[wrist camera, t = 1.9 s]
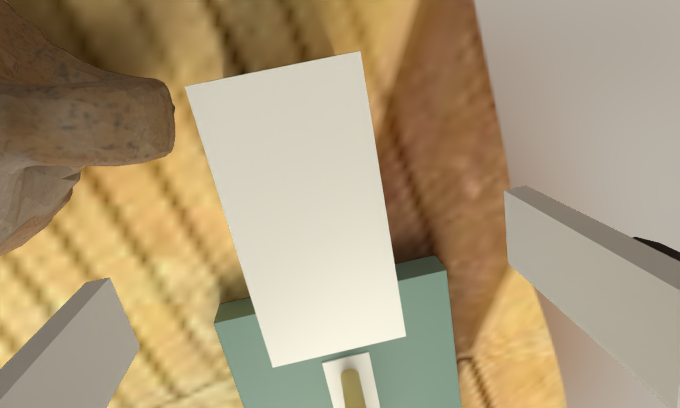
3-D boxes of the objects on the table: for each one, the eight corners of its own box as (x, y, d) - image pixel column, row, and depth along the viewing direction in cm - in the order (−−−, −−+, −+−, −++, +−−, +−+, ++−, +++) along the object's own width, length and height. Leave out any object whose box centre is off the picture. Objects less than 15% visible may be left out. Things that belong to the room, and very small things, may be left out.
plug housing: (222, 78, 21) (184, 86, 13) (335, 55, 21) (360, 50, 14) (278, 276, 25) (272, 367, 17) (371, 255, 25) (406, 336, 18)
